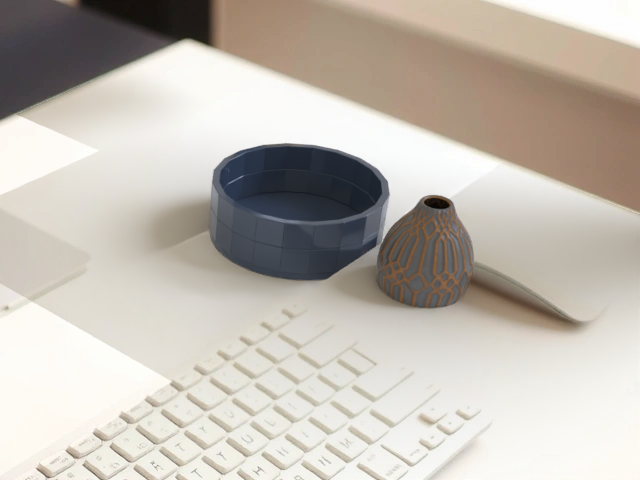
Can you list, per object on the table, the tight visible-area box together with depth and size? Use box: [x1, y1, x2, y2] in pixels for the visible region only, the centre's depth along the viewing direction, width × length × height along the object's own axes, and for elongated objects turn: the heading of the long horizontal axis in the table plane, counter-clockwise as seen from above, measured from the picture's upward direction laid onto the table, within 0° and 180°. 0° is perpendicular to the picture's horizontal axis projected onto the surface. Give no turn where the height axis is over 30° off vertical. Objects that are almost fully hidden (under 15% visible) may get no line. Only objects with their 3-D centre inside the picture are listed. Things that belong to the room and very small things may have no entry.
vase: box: [375, 194, 475, 309], centre depth 80 cm, size 7×7×9 cm
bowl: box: [208, 142, 391, 281], centre depth 89 cm, size 14×14×5 cm
